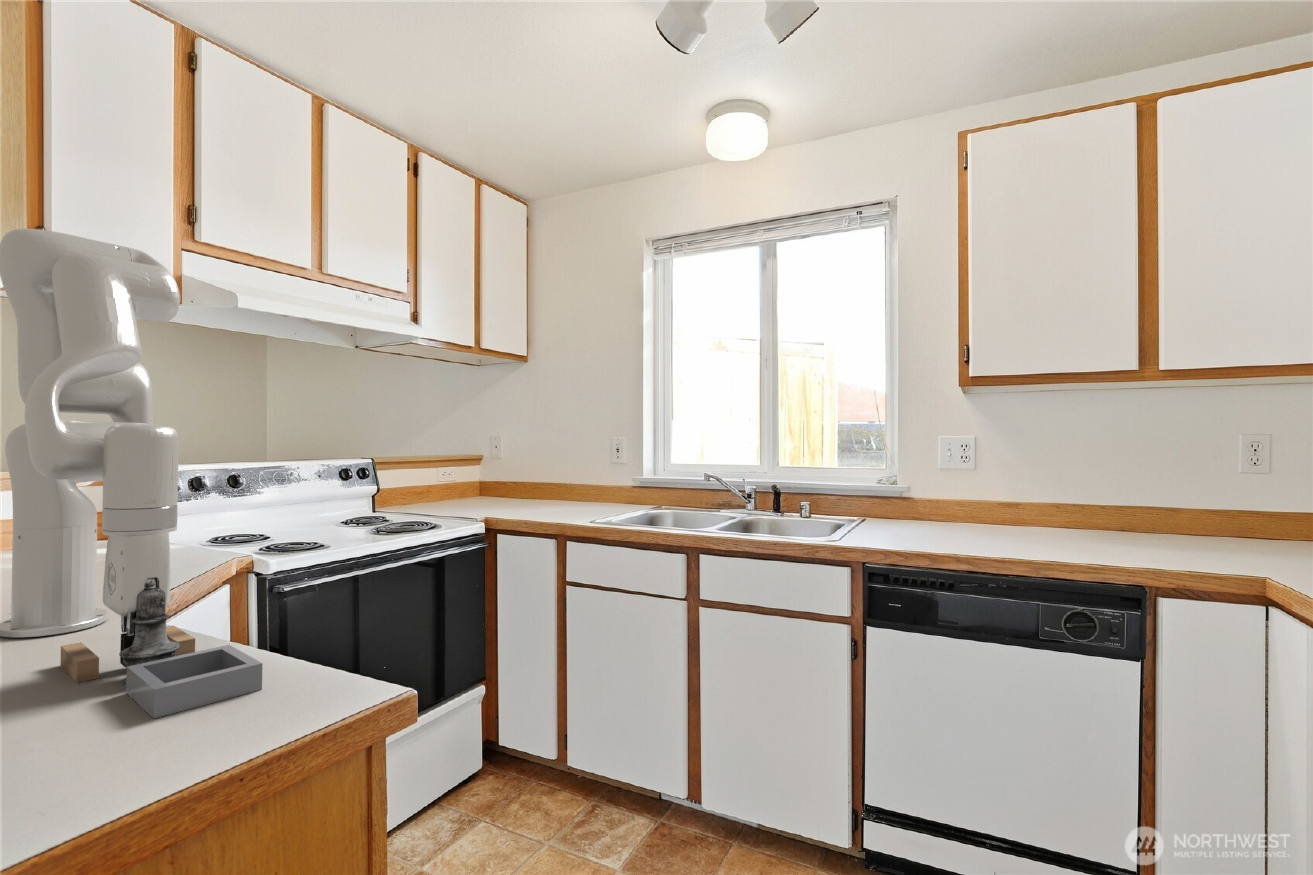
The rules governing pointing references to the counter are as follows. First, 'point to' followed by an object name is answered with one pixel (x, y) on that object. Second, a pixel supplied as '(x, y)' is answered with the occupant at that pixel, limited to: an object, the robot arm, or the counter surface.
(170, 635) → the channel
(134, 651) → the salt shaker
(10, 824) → the counter surface
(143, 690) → the square tray
